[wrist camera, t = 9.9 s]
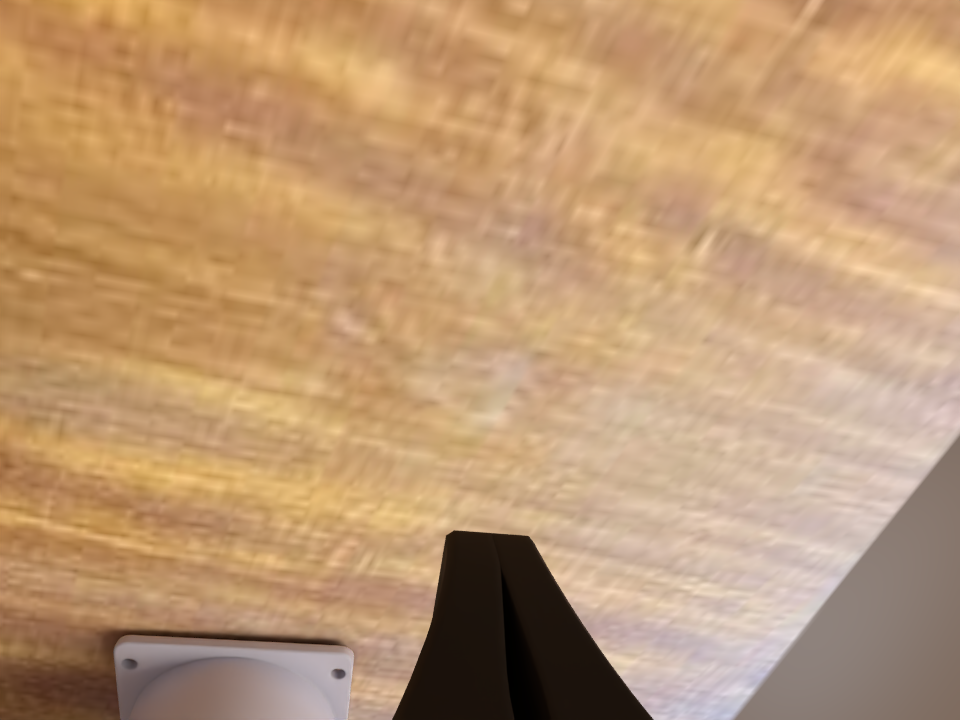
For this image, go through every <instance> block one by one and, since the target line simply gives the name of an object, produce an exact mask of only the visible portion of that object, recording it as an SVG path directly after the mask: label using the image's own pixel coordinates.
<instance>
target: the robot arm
mask: <svg viewBox="0 0 960 720" xmlns="http://www.w3.org/2000/svg"><path fill="white" fill-rule="evenodd" d="M113 654H114V663H115V673H116V682H117V692H118V702H119V711H120V720H348V710H349V701H350V691H351V681H352V672H353V662H354V653H353V652H352V650H351V649H349V648H347V647H345V646H339V645H320V644H300V643H281V642H261V641H242V640H223V639H203V638H184V637H164V636H145V635H125V636H123V637H121V638H120V639H119V640H118V641H117V643H116V645H115V647H114V651H113ZM131 659H132V660H131ZM337 669H341V670H337ZM392 720H653V718H652V717H651V716H650V715H649V714H648V712H647V711H646V710H645V709H644V707H643V706H642V705H641V704H640V702H639V701H638V700H637V699H636V697H635V696H634V695H633V694H632V692H631V691H630V690H629V688H628V687H627V686H626V684H625V683H624V682H623V680H622V679H621V678H620V676H619V675H618V674H617V672H616V671H615V670H614V668H613V667H612V666H611V664H610V663H609V661H608V660H607V659H606V657H605V656H604V654H603V653H602V652H601V650H600V649H599V647H598V646H597V644H596V643H595V641H594V640H593V638H592V637H591V635H590V634H589V633H588V631H587V630H586V628H585V627H584V625H583V624H582V622H581V621H580V619H579V618H578V616H577V615H576V613H575V611H574V610H573V608H572V607H571V605H570V604H569V602H568V600H567V599H566V597H565V596H564V594H563V592H562V591H561V589H560V587H559V586H558V584H557V582H556V581H555V579H554V577H553V576H552V574H551V572H550V571H549V569H548V567H547V565H546V564H545V562H544V560H543V558H542V557H541V555H540V553H539V551H538V550H537V548H536V546H535V544H534V542H533V541H532V540H531V539H530V537H529V536H522V535H508V534H495V533H481V532H468V531H453V532H451V533H450V534H448V535H446V540H445V546H444V552H443V558H442V564H441V570H440V576H439V582H438V588H437V594H436V600H435V606H434V612H433V618H432V622H431V625H430V628H429V631H428V634H427V637H426V640H425V642H424V645H423V648H422V650H421V653H420V655H419V658H418V661H417V663H416V666H415V668H414V671H413V674H412V676H411V679H410V681H409V683H408V686H407V688H406V690H405V693H404V695H403V697H402V700H401V702H400V704H399V706H398V708H397V711H396V713H395V715H394V717H393V719H392Z"/></svg>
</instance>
